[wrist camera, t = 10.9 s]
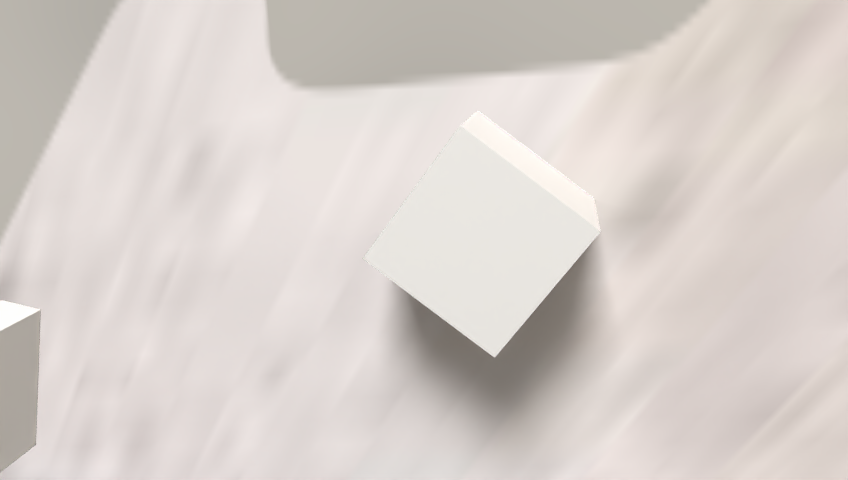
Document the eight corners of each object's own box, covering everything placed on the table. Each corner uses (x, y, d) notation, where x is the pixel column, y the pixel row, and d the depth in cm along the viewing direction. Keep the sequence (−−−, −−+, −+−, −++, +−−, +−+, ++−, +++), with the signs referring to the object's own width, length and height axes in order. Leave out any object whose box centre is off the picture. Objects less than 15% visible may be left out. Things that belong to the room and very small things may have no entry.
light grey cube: (395, 221, 34) (361, 258, 28) (477, 109, 32) (458, 124, 26) (506, 304, 34) (494, 358, 28) (594, 197, 32) (601, 231, 26)
